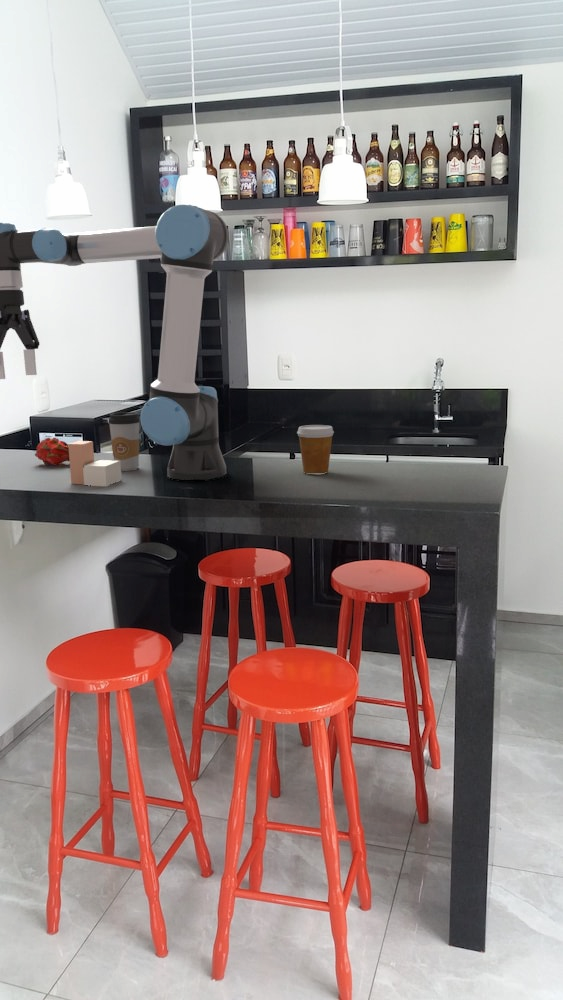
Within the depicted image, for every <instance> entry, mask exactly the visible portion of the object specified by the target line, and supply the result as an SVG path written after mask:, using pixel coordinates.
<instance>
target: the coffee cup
mask: <svg viewBox="0 0 563 1000" xmlns="http://www.w3.org/2000/svg"><path fill="white" fill-rule="evenodd" d="M140 423H141V420H140V417H139V416H138V412H131V411H130V412H127V411H126V412H125V411H124V412H113V413H110V414H109V417H108V425H109V431H110V442H111V449H112V456H113V461H120V465H121V472H128V471H129V472H130V470H131V471H136V470H137V469H139V468H138V467H140V461H139V460H140V459H139V457H140Z"/></svg>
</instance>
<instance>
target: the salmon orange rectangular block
mask: <svg viewBox="0 0 563 1000" xmlns="http://www.w3.org/2000/svg"><path fill="white" fill-rule="evenodd" d="M67 444H68V447H69V460H70V461H69V469H70V470H69V471H70V483H72V485H73V484H74V485H75V484H76V485H84V474H83V465H85V464H88V463H91V462H94V461H95V455H94V454H95V453H94V441H91V440H90V441H89V440H77V441H74V442H70V443H67Z"/></svg>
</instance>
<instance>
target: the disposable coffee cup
mask: <svg viewBox="0 0 563 1000" xmlns="http://www.w3.org/2000/svg"><path fill="white" fill-rule="evenodd" d="M334 433H335V431H334V428H333V426H331V425H324V424H309V425H308V424H307V425H301V426H299V427H298V429H297V431H296V434H297V436H298V439H299V440H298V442H299V447H300V454H301V461H302V462H301V464H302V469H303V473H304V472H305V473H325V472H328V473H329V468H330V457H331V452H332V451H331V450H332V442H333V436H334Z"/></svg>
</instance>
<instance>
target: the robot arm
mask: <svg viewBox="0 0 563 1000" xmlns="http://www.w3.org/2000/svg"><path fill="white" fill-rule="evenodd" d="M229 234H230V233H229V230H228V225H227V224H226V222H225V221H224V219H223V218H222V217H221V216H220V215H218V213H216V212H213V211H211V210H208V209H204V208H201V207H198V206H197V205H192V204H177V205H174V206H171V207H169V208H167V210H165V211H164V212H163V213H162V214H161V215H160V217H159V219H158V220H157V223H156V225H154V226H144V227H142V226H141V227H130V228H121V229H107V230H97V231H95V230H94V231H85V232H83V231H82V232H73V233H72V232H71V233H62V232H61V231H60V230H59V229H58V228H46V227H42V228H38V229H28V230H18V228H17V225H16V224H15V223H12V222H0V350H1V349H2V346H3V344H4V341H5V338H6V335H7V332H8V331H9V330H10V329H11V330H14V332H15V333H16V335H17V336H18V338H19V340H20V342H21V343H22V344H23V346H24V348H25V349H23V358H24V359H23V361H24V368H25V376H37V363H36V352H35V350H37V349H39V346H40V340H39V338H38V336H37V332H36V331H35V328H34V325H33V323H32V319H31V316H30V310H29V309H22V307H21V306H24V305H25V298H24V291H23V289H22V288H23V287H24V286H23V277H22V266H21V264H33V263H43V264H55V265H65V266H68V267H69V266H70V267H75V266H81V265H83V264H96V263H109V262H110V263H111V262H121V261H123V262H124V261H136V260H152V259H161V260H160V266H161V267H162V269H163V270H164V272H165V273H166V280H165V281H166V283H165V294H164V305H163V315H162V327H161V328H162V329H161V338H160V347H159V348H160V350H159V361H158V362H159V363H158V371H157V379H155V380H154V381H153V382H152V383H150V388H149V399H148V400H147V401H146V402H145V403H144V405H142V406H143V407H142V409H141V410H140V415H139V416H140V417H139V421H140V425H141V428H142V430H143V432H144V434H145V435H146V436H147V437H148V439H150V440H151V441H152V442H153V443H156V444H157V445H161V446H172V450H171V454H170V459H169V461H168V464H167V471H166V472H167V478H168V477H169V478H168V479H170V478H172V479H171V480H173V479H181V480H184V479H185V480H191V479H192V480H193V479H208V478H215V477H220V476H223V475H225V474H227V465H226V462H225V459H224V456H223V453H222V451H221V449H220V448H221V447H220V445H219V444H220V443H219V442H220V441H219V440H220V439H219V410H218V409H219V407H218V405H219V404H218V403H219V399H218V394H217V393H218V392H217V390H216V388H215V387H212V386H205V385H204V386H203V385H197V384H196V383H195V378H196V367H197V359H198V358H197V357H198V350H199V348H198V347H199V337H200V327H201V320H202V319H201V318H202V307H203V299H204V297H203V296H204V287H205V279H206V277H208V276H209V275H210V274H211V273H212V272H213V267H214V266H213V265H214V264H213V263H214V261H215V260H217V259H218V258H220V257H221V256H223V254H224V253H225V252H226V250H227V248H228V244H229V239H230V237H229ZM21 289H22V290H21ZM0 380H6V373H5V361H4V353H3V351H0Z"/></svg>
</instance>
